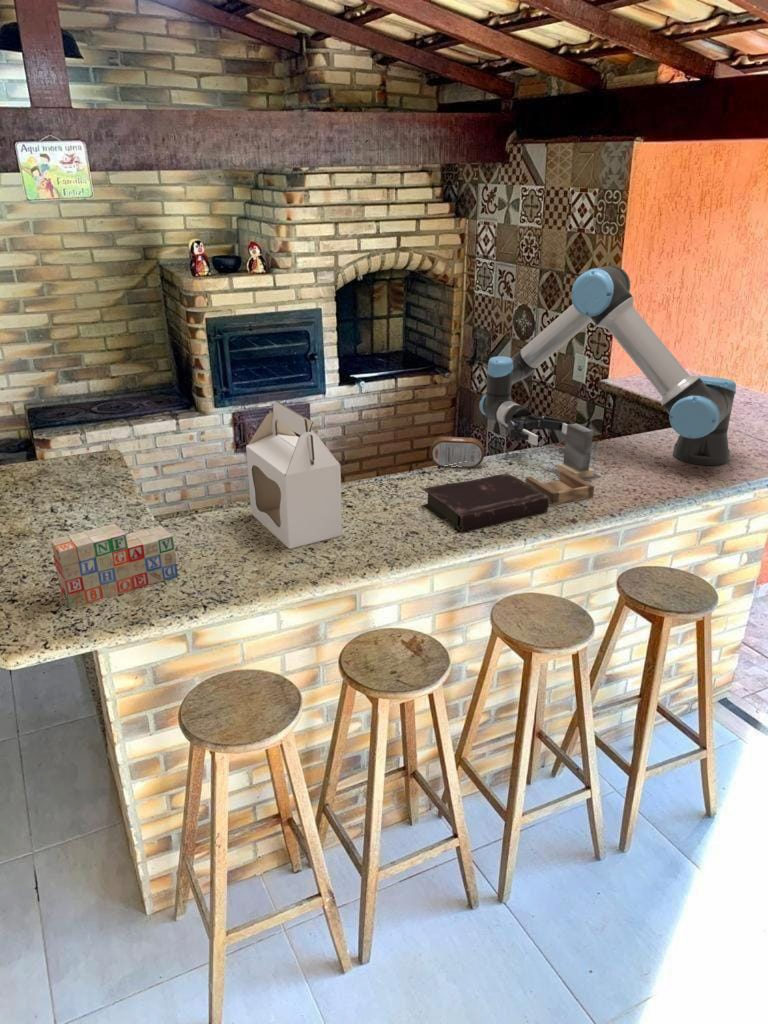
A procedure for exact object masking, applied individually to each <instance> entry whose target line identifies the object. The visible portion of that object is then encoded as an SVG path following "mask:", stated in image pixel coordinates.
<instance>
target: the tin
mask: <svg viewBox="0 0 768 1024" xmlns="http://www.w3.org/2000/svg"><path fill="white" fill-rule="evenodd" d="M429 450H430V451H429V452H430V458H431V460H432V462H433V463H434V464H436V465H437V466H439V467H441V466H444V465H448V466H445V467H444V468H452V467H451V466H456V465H459V466H462V467H466V468H465V469H474V468H477V467H478V466H480V464H481V463H482V462H483V460H484V458H485V446H484V445H483V443H482V442H481V441H480V440H478V438H474V437H458V436H441V437H438V438H436V439H435V440H433V441H432V443H431V445H430V449H429ZM464 461H467V462H464ZM459 462H462V463H459ZM454 463H457V464H454ZM449 464H453V465H449ZM456 467H458V466H456Z"/></svg>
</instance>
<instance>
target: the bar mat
mask: <svg viewBox="0 0 768 1024" xmlns="http://www.w3.org/2000/svg"><path fill="white" fill-rule="evenodd" d="M548 471H549V473H550V472H551V473H553V474H555V475H556V476H558V477H559V476H560V472H559V471H557V468H555V469H550V470H548ZM599 478H602V476H601V475H598V474H597V473H595V472H594V477H591V478H586V479H582V480H583V481H585V482H586V481H590V480H595V479H599Z"/></svg>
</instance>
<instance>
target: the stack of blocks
mask: <svg viewBox="0 0 768 1024" xmlns="http://www.w3.org/2000/svg"><path fill="white" fill-rule="evenodd" d="M50 542H51V546H52V551H53V560H54V565H55V568H56V572H57V577H58V581H59V586H60V591H61V595H63V596H64V597H63V596H62V597H63V599H64V598H65V599H64V600H65V602H66V603H67V605H68V604H69V605H68V606H69V608H70V609H73V608H77V607H79V606H83V605H86V604H90V603H94V602H97V600H98V601H101V600H104V599H108V598H111V597H115V596H117V594H118V595H120V593H121V594H124V593H126V592H130V591H133V590H137V589H140V588H143V586H144V587H147V586H151V585H154V584H157V583H160V582H164V581H168V580H170V579H174V578H177V577H178V576H179V574H178V564H177V558H176V549H175V545H174V544H175V543H174V536H173V535H172V534H171V533H170V532H169V531H168V530H166V529H165V528H164V527H163V526H162V525H159V526H155V527H151V528H148V529H145V530H144V529H143V530H139V531H136V532H133V533H128V534H126V533H125V532H124V531H123V530H122V529H121V528H120V527H119V526H118V525H117V524H116V523H111V524H108V525H104V526H101V527H96V528H93V529H88V530H85V531H81V532H78V533H77V532H76V533H73V534H69V535H66V536H61V537H57V538H52V539H50ZM114 595H115V596H114ZM107 597H108V598H107ZM103 598H104V599H103ZM100 599H101V600H100Z"/></svg>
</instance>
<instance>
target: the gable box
mask: <svg viewBox="0 0 768 1024" xmlns="http://www.w3.org/2000/svg"><path fill="white" fill-rule="evenodd" d="M272 403H273V406H272V407H273V408H272V410H269V412H268V413H267V414H266V415H265V416H264V418H263V420H262V421H261V422H260V424H259V425H258V427H257V429H256V430H255V432H254V434H253V435H252V437H251V438H250V440H249V441H248V443H247V445H246V447H245V450H246V460H247V461H246V462H247V463H246V464H247V473H248V476H247V477H248V489H249V497H250V498H249V500H250V501H249V502H250V512H251V515H252V516H253V517H254V518H255V519H256V520H257V521H259V523H260V524H262V525H263V526H264V527H265V528H266V529H267V530H268V531H269V532H270V533H272V535H273V536H274V537H276V538H277V539H278V541H280V542H281V543H282V544H284V546H286V548H288V549H289V550H291V549H296V548H298V547H303V546H307V545H311V544H314V543H318V542H321V541H322V542H323V541H327V540H330V539H333V538H334V539H335V538H337V537H341V536H342V535H343V524H342V523H343V521H342V517H343V515H342V485H341V484H342V478H341V477H342V476H341V473H342V471H341V463H340V461H338V460H337V459H336V458H335V457H334V455H333V454H332V453H331V451H330V450H329V448H328V447H327V446H326V445H325V444H324V442H323V441H322V439H321V438H320V437H319V436H318V434H317V433H315V432H313V431H311V429H312V427H313V424H314V421H312V420H310V419H309V418H307V417H305V416H304V415H303V414H300V413H298V412H297V411H295V410H294V409H292V408H290V407H289V406H287V405H285V404H283V403H282V402H280V401H279V400H274V401H273V402H272ZM296 434H298V435H299V436H297V435H296ZM311 461H312V462H313V464H311Z"/></svg>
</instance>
